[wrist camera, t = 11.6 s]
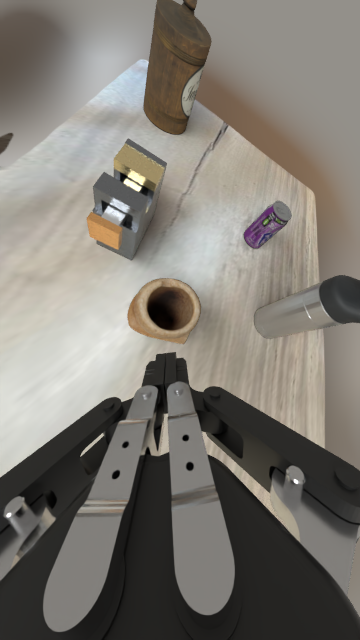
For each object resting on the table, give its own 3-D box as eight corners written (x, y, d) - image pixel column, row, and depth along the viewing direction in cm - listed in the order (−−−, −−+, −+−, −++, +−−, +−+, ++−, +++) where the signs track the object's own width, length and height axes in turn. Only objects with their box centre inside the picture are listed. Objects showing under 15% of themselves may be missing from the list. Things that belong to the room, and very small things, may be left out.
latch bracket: (131, 260, 41) (138, 215, 29) (96, 243, 39) (89, 189, 27) (153, 215, 46) (167, 163, 35) (124, 199, 45) (128, 138, 33)
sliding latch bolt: (118, 250, 31) (118, 234, 28) (89, 236, 30) (86, 218, 27) (150, 190, 38) (154, 171, 34) (128, 177, 37) (130, 155, 33)
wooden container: (185, 141, 60) (221, 27, 40) (141, 121, 55) (158, -21, 35) (185, 114, 64) (218, -2, 44) (144, 93, 59) (160, -49, 39)
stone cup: (118, 339, 35) (121, 319, 22) (135, 288, 39) (147, 246, 26) (186, 357, 39) (225, 351, 26) (195, 310, 43) (233, 282, 30)
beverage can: (244, 247, 56) (276, 218, 45) (240, 229, 57) (270, 196, 46) (261, 251, 58) (295, 223, 47) (257, 233, 60) (289, 202, 49)
